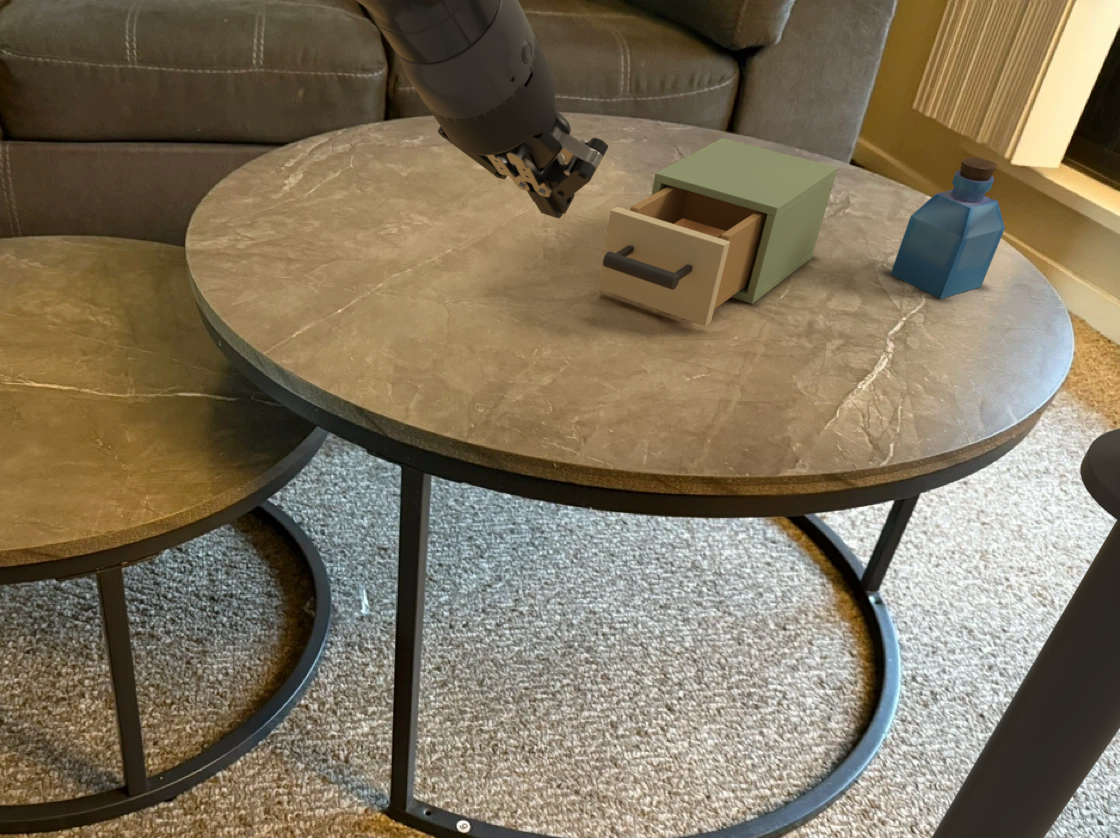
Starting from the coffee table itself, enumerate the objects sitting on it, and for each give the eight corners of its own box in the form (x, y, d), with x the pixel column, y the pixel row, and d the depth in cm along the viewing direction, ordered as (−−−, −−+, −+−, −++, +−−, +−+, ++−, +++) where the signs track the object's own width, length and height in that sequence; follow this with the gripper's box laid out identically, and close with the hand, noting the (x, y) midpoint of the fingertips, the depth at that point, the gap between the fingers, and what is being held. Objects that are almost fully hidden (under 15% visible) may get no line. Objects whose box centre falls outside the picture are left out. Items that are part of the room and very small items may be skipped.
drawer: (683, 343, 94) (702, 260, 89) (574, 302, 99) (586, 223, 94) (767, 279, 105) (788, 202, 100) (665, 246, 110) (679, 172, 105)
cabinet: (752, 304, 102) (777, 208, 96) (637, 265, 108) (655, 173, 102) (811, 258, 111) (838, 167, 105) (703, 225, 117) (722, 137, 111)
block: (715, 276, 102) (726, 231, 100) (694, 292, 100) (705, 245, 97) (673, 262, 105) (682, 217, 102) (651, 277, 102) (660, 231, 99)
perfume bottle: (940, 298, 105) (986, 179, 97) (890, 274, 109) (931, 157, 101) (981, 286, 107) (1029, 169, 100) (930, 263, 111) (973, 148, 104)
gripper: (359, 90, 66) (462, 225, 81) (534, 141, 60) (611, 276, 75) (417, -16, 66) (509, 139, 81) (598, 24, 60) (661, 184, 75)
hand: (558, 205), depth 78 cm, fingers closed
